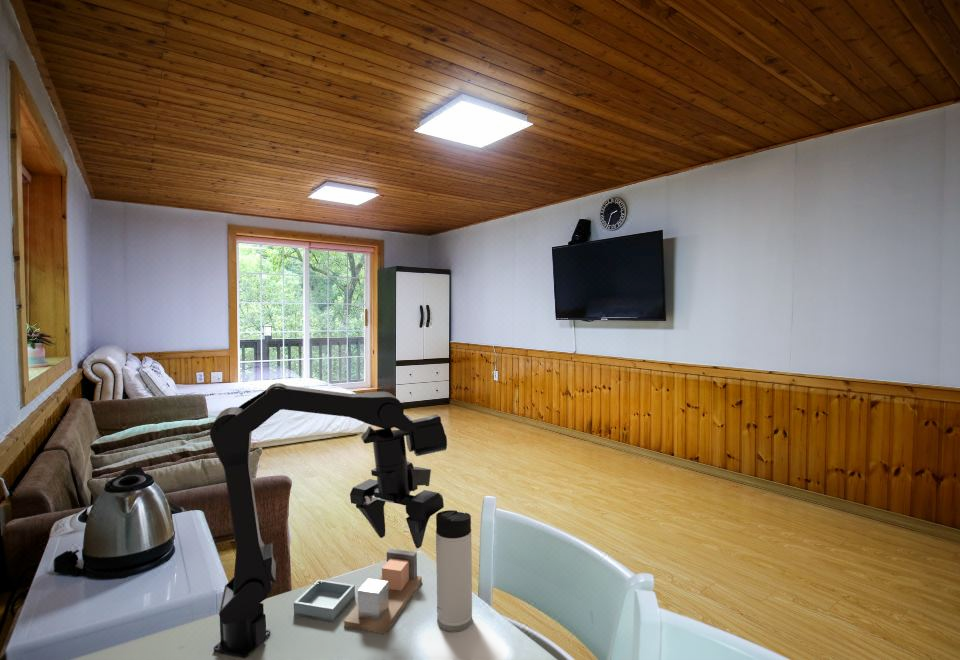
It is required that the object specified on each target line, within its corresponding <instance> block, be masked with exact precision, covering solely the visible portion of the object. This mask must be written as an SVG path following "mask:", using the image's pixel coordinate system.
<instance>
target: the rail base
mask: <svg viewBox="0 0 960 660" xmlns="http://www.w3.org/2000/svg"><path fill="white" fill-rule="evenodd" d="M417 555H418V553H417V551H412V550H411V551H410V550H404V549H403V550H402V549H395V548H389V549H388V550H387V551H386V563H387V562H388V561H389V559H390V558H392V559H400V560H408V561H409V581H408V582H407V583H406V585H405V586H404V587H403V589H402V590H401V591H400V590H393V589H388V600H389V608H388V609H387V610H386V612H385V613H384V615H383V616H382V617H381V619H380V620H379V621H377V620H371V619H365V618H359V617H358V604H357V605H356V606H355V607H354V608H353V610H352V611H351V612H350V613H349V615H348V616H347V617H346V618H345V619H344V621H343V627H346V628H351V629H357V630H363V631H369V632H373V633H374V632H375V633H379V634H385V635H386V634H387V633H388V631H389V630H390V628H391V627H392V626H393V624H394V622H395V621H396V620H397V618H398V617H399V615H400V614H401V612H402V611H403V609H404V608H405V606H406V605H407V604H408V602H409V601H410V599H411V598H412V597H413V594H414V593H415V592H416V590H418V587H419V586H420V584H421V583H422V579H423V577H422V576H421V575H420V576H419V575H418V556H417ZM378 580H382V575H381V576H380V577H379V579H378Z"/></svg>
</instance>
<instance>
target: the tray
mask: <svg viewBox="0 0 960 660" xmlns="http://www.w3.org/2000/svg"><path fill="white" fill-rule="evenodd" d="M324 581H325V582H324ZM321 582H322V583H321ZM317 583H319V584H317ZM313 584H316V585H313ZM313 584H312V585H310V587H308V589H307V590H305V591H304V592H303V593H302V594H301V595H300V596H299V597H298V598H297V599H295V601H294V602H293V616H294V617H297V618H298V617H299V618H304V619H310V620H316V621H321V622H328V623H332V624H333V623H335V621H336V620H337V619H338V618H339V616H340V615H341V614H342V613H343V612H344V611H345V610H346V609H347V607H348V606H349V605H350V604H351V603H352V601H354V599H355V598H356V585H355V584H350V583H344V582H339V581H338V582H337V581H331V580H324V579H317V580H316V581H315V582H314V583H313Z"/></svg>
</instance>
